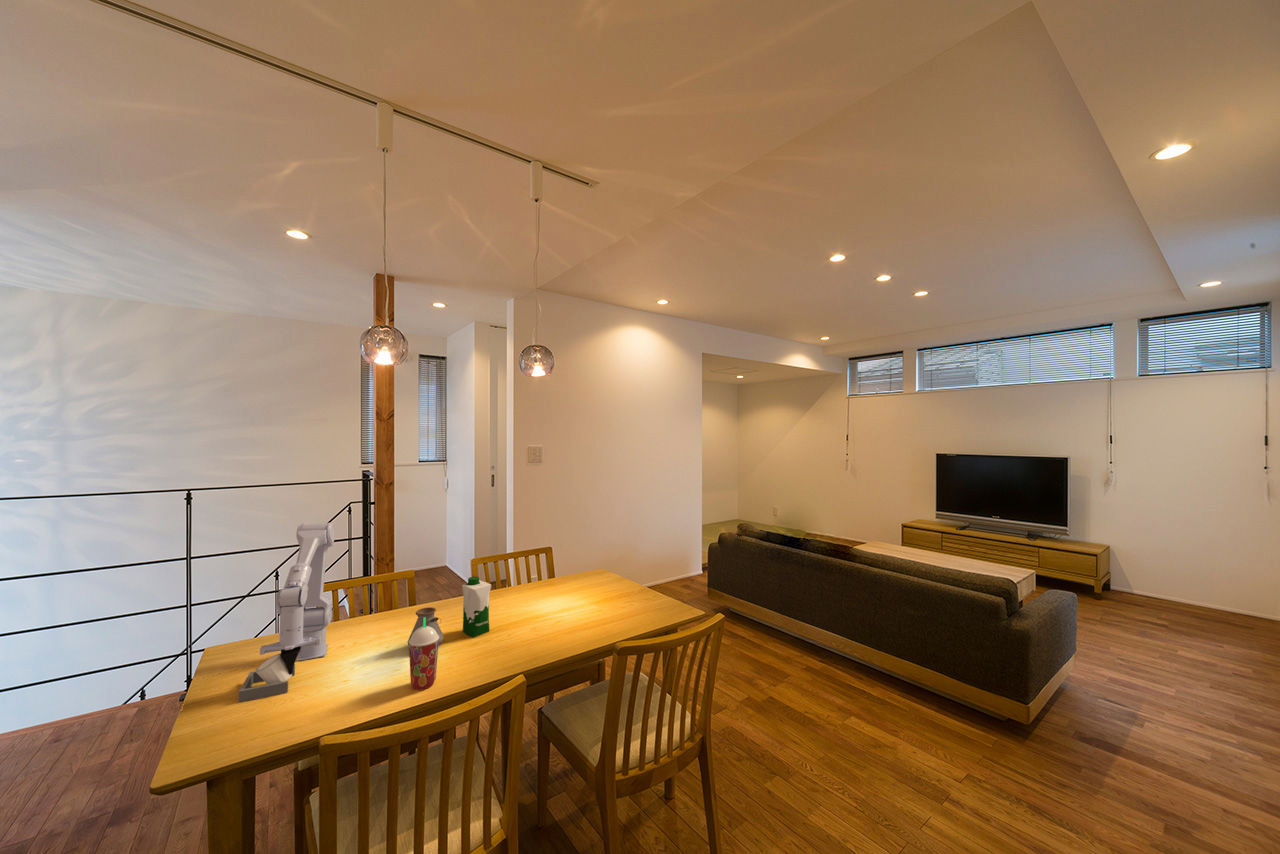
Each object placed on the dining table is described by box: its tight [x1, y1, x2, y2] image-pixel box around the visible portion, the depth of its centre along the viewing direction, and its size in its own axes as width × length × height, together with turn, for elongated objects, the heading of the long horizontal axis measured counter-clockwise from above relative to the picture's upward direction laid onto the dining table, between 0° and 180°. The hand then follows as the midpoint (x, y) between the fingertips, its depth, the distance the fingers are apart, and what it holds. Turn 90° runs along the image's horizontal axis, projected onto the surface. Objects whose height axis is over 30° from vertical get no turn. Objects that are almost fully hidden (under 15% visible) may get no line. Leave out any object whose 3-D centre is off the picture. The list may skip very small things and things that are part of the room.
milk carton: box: [462, 576, 492, 638], centre depth 178 cm, size 9×9×20 cm
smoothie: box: [408, 617, 440, 691], centre depth 141 cm, size 8×8×20 cm
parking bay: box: [237, 663, 296, 703], centre depth 138 cm, size 12×11×3 cm
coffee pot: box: [407, 606, 444, 646], centre depth 161 cm, size 21×12×15 cm, turn 37°
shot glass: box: [254, 652, 292, 685], centre depth 139 cm, size 7×7×7 cm
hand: (290, 673), depth 141 cm, fingers closed, pressing on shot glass
